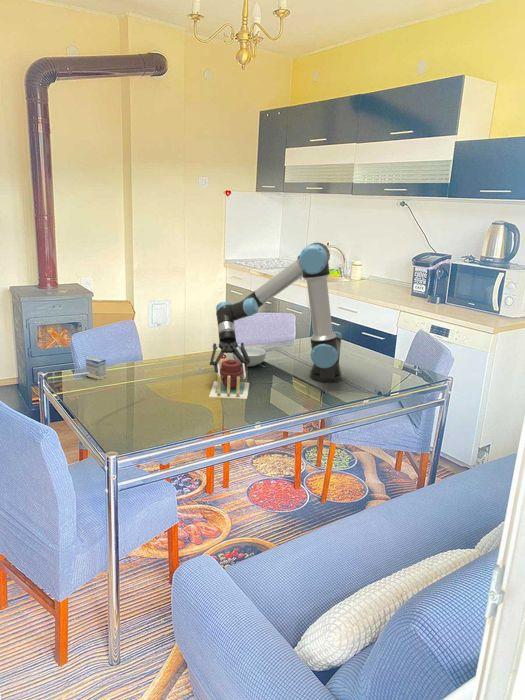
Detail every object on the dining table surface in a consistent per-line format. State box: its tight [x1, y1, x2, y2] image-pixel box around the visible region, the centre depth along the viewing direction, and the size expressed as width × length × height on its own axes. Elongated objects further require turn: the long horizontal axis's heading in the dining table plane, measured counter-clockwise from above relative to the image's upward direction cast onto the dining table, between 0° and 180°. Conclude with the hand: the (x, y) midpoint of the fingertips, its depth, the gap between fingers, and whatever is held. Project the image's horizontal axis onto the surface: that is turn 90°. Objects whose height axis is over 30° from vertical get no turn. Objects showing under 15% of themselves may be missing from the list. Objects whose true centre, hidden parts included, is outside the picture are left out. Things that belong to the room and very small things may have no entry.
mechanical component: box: [220, 359, 243, 390], centre depth 224 cm, size 12×10×10 cm
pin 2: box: [227, 375, 231, 397], centre depth 215 cm, size 1×1×9 cm
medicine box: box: [85, 356, 107, 377], centre depth 233 cm, size 8×4×9 cm, turn 68°
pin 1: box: [217, 374, 222, 396], centre depth 216 cm, size 1×1×9 cm
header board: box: [208, 380, 250, 400], centre depth 224 cm, size 16×19×1 cm
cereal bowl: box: [231, 346, 267, 368], centre depth 260 cm, size 17×17×7 cm
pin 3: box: [236, 375, 241, 397], centre depth 215 cm, size 1×1×9 cm
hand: (231, 378), depth 222 cm, fingers open, 10 cm apart
